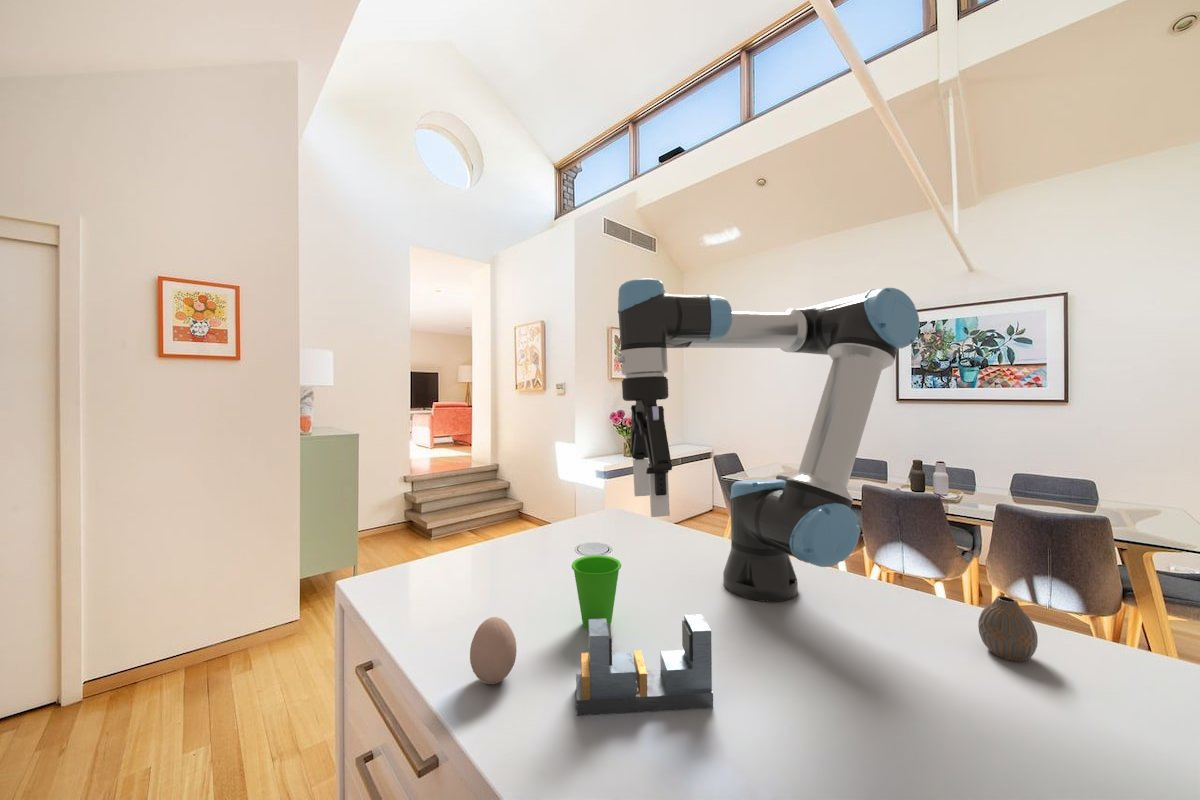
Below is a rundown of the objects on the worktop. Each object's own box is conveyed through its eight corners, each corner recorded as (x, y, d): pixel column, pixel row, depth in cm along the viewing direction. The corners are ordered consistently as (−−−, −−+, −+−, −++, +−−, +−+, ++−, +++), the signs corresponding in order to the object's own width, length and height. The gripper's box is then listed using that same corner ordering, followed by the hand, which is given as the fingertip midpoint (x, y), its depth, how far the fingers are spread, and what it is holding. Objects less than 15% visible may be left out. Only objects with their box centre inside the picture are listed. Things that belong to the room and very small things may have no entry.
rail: (701, 681, 64) (700, 612, 64) (713, 708, 59) (712, 632, 59) (576, 688, 63) (575, 617, 63) (576, 715, 58) (576, 638, 58)
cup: (617, 639, 76) (616, 575, 76) (566, 634, 78) (565, 571, 78) (625, 614, 85) (624, 556, 85) (578, 610, 87) (578, 553, 87)
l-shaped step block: (631, 673, 63) (630, 617, 63) (636, 694, 59) (635, 634, 59) (589, 675, 63) (588, 619, 63) (590, 697, 58) (589, 636, 58)
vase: (1025, 672, 66) (1025, 613, 66) (970, 649, 72) (969, 595, 72) (1046, 659, 69) (1045, 602, 69) (990, 638, 75) (990, 586, 75)
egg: (480, 666, 69) (479, 607, 69) (522, 668, 68) (521, 608, 68) (462, 694, 62) (461, 629, 62) (508, 697, 62) (508, 631, 62)
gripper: (611, 379, 85) (617, 490, 86) (636, 373, 61) (643, 529, 61) (650, 378, 86) (655, 487, 87) (689, 371, 61) (696, 524, 62)
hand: (650, 505), depth 74 cm, fingers open, 13 cm apart
